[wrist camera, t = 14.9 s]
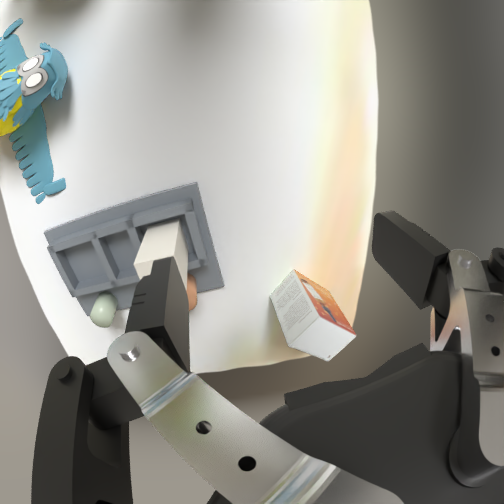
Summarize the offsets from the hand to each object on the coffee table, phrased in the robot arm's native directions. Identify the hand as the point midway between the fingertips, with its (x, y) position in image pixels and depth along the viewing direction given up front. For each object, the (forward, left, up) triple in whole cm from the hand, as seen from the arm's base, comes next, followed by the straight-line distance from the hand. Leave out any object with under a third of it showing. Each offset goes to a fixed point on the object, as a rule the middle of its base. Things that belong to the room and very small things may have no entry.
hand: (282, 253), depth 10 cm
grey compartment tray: (+9, -15, -23) cm, 29 cm away
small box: (+21, +7, -23) cm, 32 cm away
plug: (+7, -9, -22) cm, 25 cm away
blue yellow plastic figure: (-16, -23, -24) cm, 36 cm away
